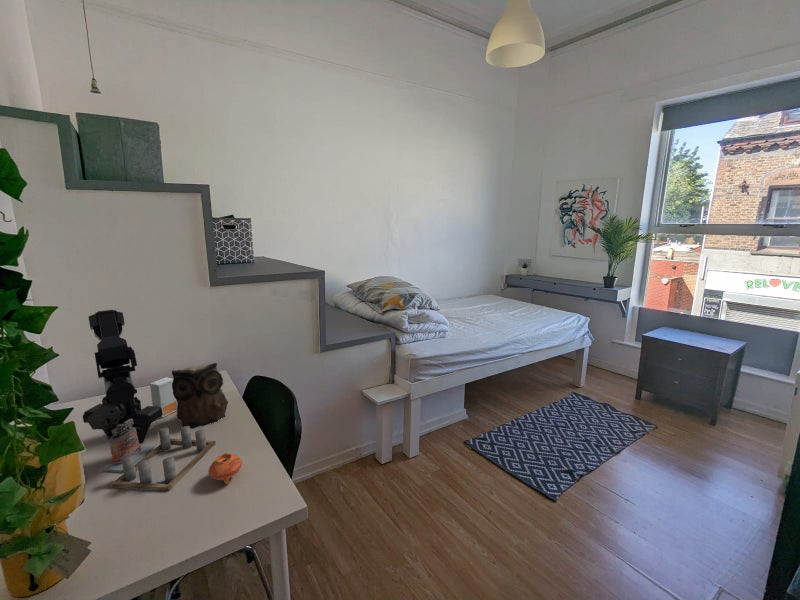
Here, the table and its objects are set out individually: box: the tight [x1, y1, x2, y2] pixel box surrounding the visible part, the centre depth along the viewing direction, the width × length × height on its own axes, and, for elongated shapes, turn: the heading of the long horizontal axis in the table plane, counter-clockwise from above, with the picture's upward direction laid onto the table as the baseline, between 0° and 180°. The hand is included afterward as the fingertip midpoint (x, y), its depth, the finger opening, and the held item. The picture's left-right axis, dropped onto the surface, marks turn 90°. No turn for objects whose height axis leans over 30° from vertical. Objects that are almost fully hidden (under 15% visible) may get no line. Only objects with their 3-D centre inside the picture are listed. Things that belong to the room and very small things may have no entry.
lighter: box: [107, 419, 141, 466], centre depth 102 cm, size 8×3×10 cm, turn 172°
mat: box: [102, 444, 156, 473], centre depth 102 cm, size 6×11×1 cm, turn 175°
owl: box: [171, 362, 229, 430], centre depth 121 cm, size 13×13×20 cm
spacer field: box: [110, 426, 216, 492], centre depth 100 cm, size 15×20×6 cm
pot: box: [208, 453, 243, 486], centre depth 95 cm, size 8×8×7 cm
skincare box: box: [149, 376, 178, 419], centre depth 126 cm, size 6×4×12 cm
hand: (127, 442), depth 102 cm, fingers open, 8 cm apart
